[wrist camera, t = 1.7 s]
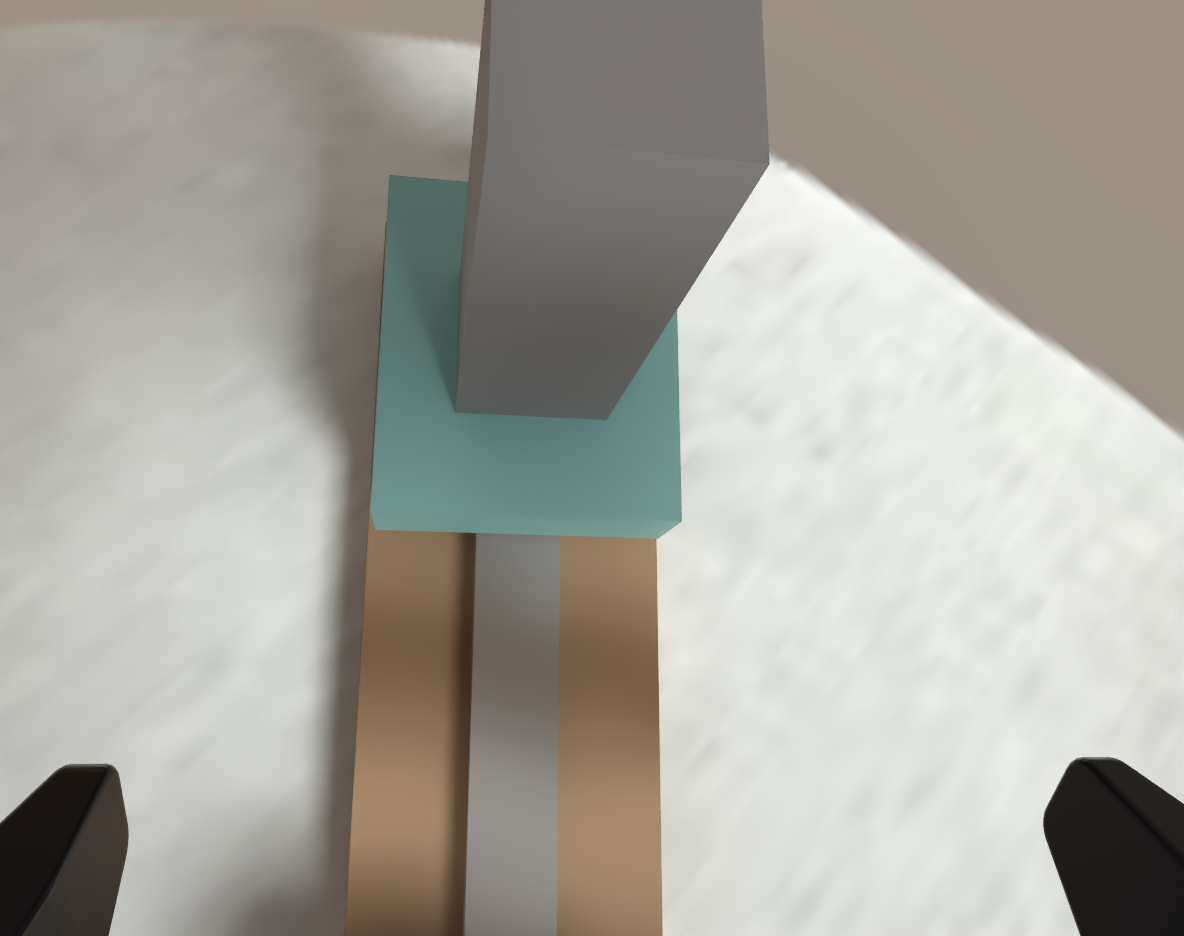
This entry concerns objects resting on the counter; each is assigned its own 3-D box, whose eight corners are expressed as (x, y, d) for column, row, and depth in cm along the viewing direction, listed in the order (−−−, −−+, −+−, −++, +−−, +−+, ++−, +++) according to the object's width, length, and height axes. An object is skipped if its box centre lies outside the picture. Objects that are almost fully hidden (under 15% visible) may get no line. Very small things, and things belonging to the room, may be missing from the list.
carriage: (657, 538, 21) (914, 349, 10) (375, 529, 20) (322, 309, 9) (653, 243, 23) (869, -192, 12) (392, 222, 22) (365, -273, 11)
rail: (649, 1245, 20) (740, 1452, 14) (329, 1274, 19) (291, 1509, 13) (638, 270, 25) (701, 144, 20) (387, 251, 24) (378, 112, 19)
